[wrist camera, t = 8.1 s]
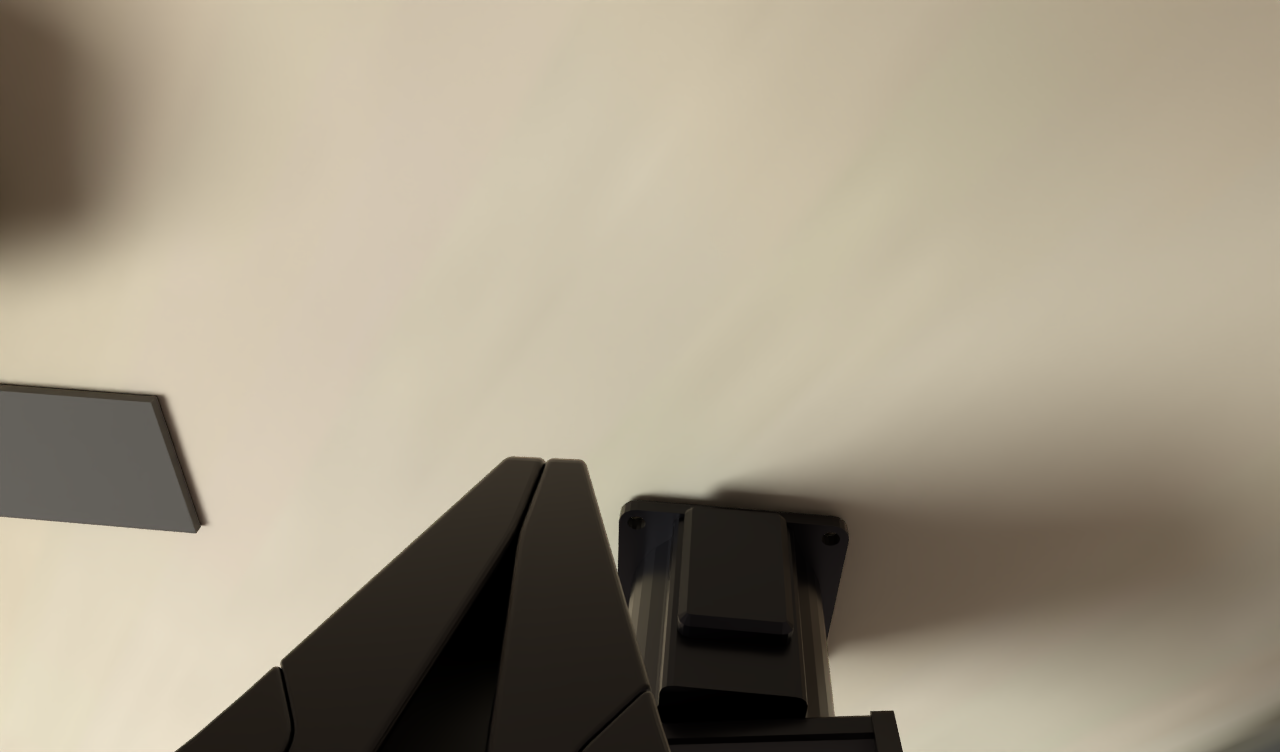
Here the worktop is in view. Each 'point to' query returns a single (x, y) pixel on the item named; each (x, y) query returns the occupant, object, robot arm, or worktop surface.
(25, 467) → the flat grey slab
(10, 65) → the worktop surface
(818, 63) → the worktop surface
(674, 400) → the worktop surface
